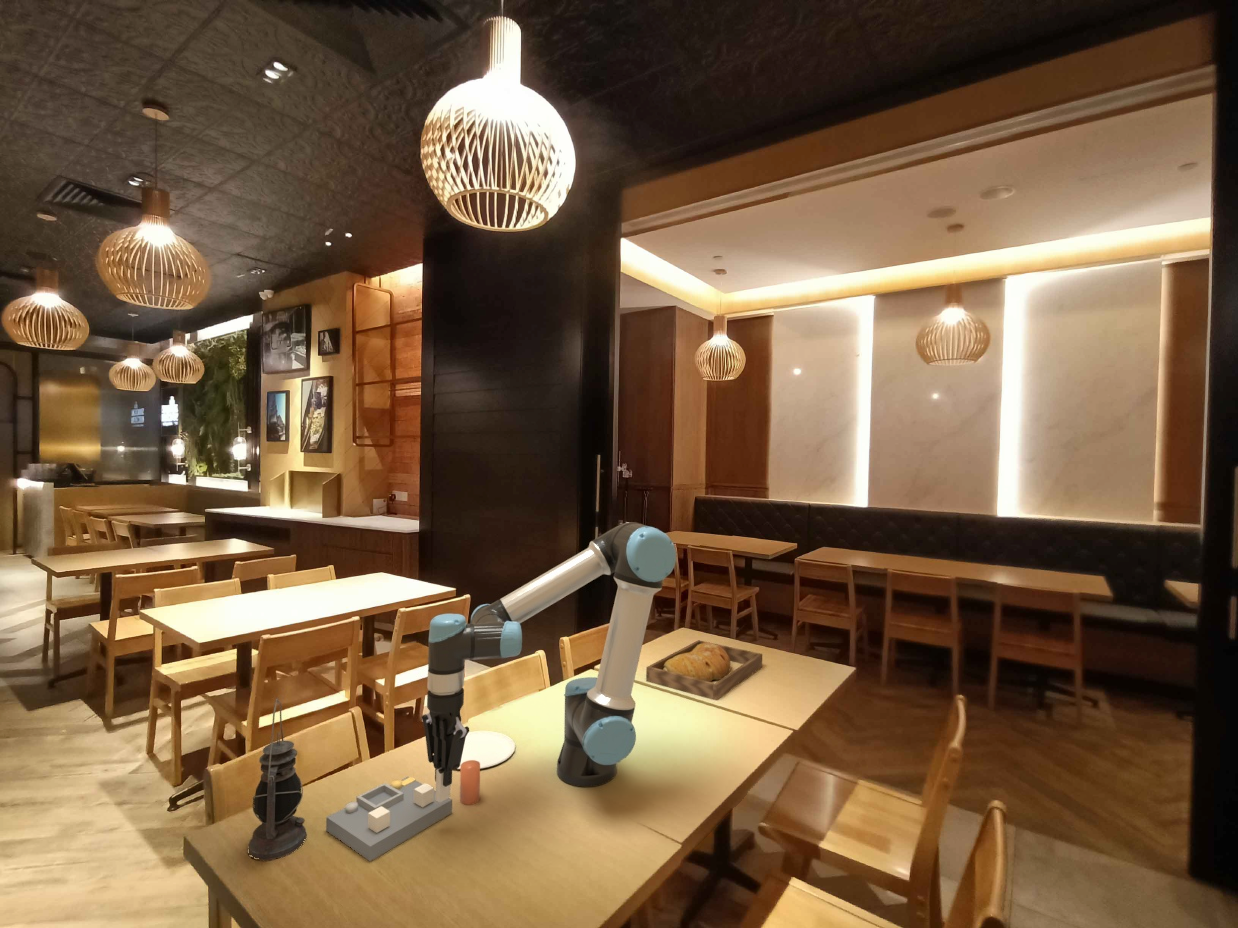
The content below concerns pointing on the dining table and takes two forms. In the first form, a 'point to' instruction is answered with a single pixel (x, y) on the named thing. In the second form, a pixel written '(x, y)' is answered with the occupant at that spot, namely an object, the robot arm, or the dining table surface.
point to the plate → (487, 748)
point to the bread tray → (701, 687)
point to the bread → (701, 663)
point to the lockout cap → (470, 782)
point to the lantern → (277, 802)
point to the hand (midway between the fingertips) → (442, 798)
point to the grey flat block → (403, 818)
